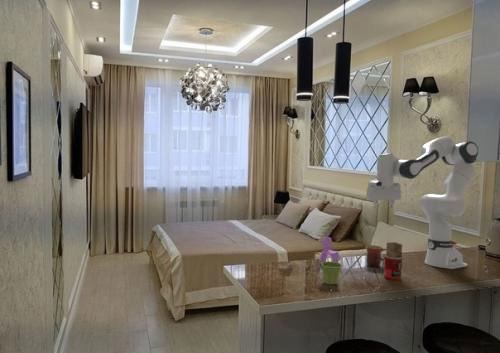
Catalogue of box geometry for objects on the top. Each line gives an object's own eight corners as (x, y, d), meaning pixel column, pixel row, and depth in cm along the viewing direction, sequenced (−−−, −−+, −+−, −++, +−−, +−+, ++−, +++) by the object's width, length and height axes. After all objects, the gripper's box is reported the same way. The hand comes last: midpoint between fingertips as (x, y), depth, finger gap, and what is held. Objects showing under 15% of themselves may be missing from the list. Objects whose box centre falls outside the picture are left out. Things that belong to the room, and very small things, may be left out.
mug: (366, 267, 207) (367, 248, 207) (363, 263, 216) (364, 244, 215) (389, 268, 206) (390, 249, 206) (385, 264, 215) (386, 245, 214)
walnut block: (394, 254, 193) (395, 242, 193) (401, 256, 188) (402, 244, 188) (386, 254, 191) (386, 242, 191) (392, 257, 187) (393, 244, 186)
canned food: (393, 281, 185) (394, 258, 184) (380, 276, 192) (381, 254, 192) (404, 279, 189) (405, 256, 188) (391, 274, 196) (392, 253, 195)
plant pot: (337, 287, 174) (337, 268, 173) (317, 283, 179) (318, 264, 178) (343, 282, 182) (344, 263, 181) (324, 278, 187) (325, 260, 186)
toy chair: (330, 268, 204) (331, 239, 203) (317, 264, 211) (318, 237, 210) (340, 265, 210) (341, 238, 209) (327, 261, 216) (328, 235, 215)
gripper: (396, 182, 219) (395, 206, 220) (365, 182, 213) (364, 207, 214) (404, 183, 213) (403, 208, 214) (372, 183, 207) (371, 208, 208)
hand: (383, 207), depth 214 cm, fingers open, 8 cm apart
